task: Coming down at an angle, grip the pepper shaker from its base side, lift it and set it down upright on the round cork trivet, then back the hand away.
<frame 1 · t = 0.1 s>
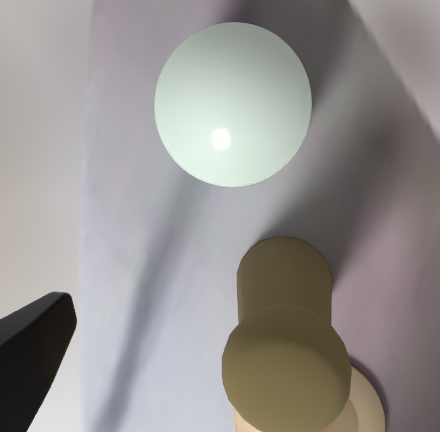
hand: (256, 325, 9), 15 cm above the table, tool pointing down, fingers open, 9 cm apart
pale mint rounded cylinder: (243, 113, 23), on the table
pepper shaker: (283, 280, 25), on the table
trivet: (306, 416, 27), on the table
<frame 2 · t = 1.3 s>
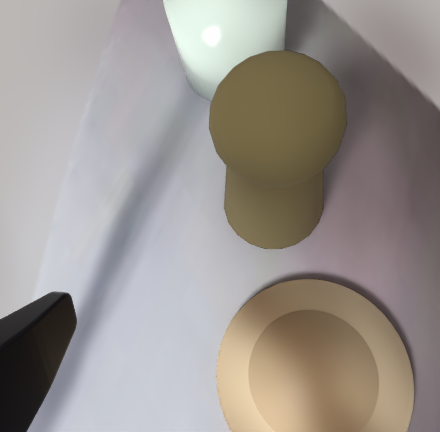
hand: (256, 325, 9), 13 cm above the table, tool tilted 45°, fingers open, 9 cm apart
pale mint rounded cylinder: (233, 61, 27), on the table
pepper shaker: (272, 202, 24), on the table
trivet: (311, 374, 20), on the table
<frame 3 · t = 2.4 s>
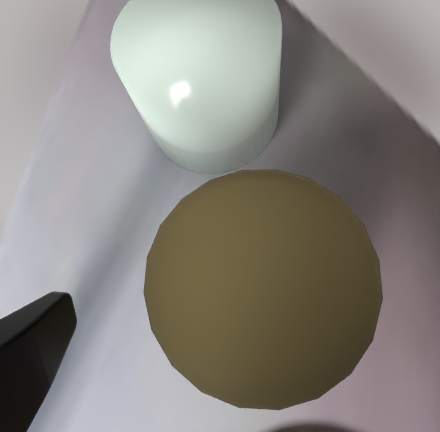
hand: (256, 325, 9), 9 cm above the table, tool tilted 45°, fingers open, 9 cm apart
pale mint rounded cylinder: (213, 115, 21), on the table
pepper shaker: (263, 313, 18), on the table
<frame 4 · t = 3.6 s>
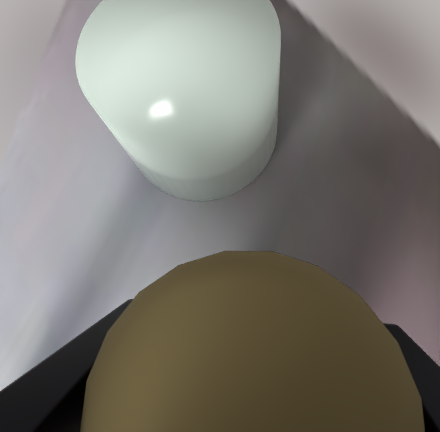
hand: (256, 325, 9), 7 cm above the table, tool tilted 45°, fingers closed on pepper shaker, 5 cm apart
pale mint rounded cylinder: (203, 133, 19), on the table
pepper shaker: (259, 368, 15), on the table, touching gripper
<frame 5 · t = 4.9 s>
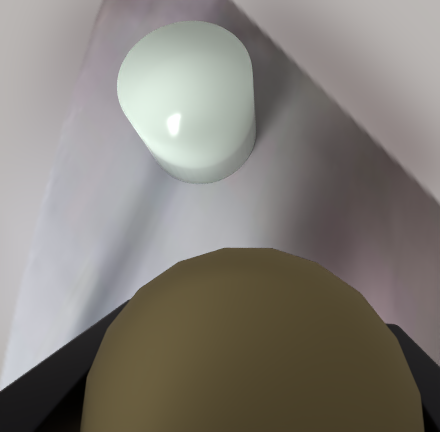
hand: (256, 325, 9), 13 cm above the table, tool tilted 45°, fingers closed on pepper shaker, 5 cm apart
pale mint rounded cylinder: (202, 134, 25), on the table
pepper shaker: (258, 365, 15), point 6 cm above the table, touching gripper
when the fingers open (8 cm above the table, at t = 6.6 s): pepper shaker stays where it is, resting on trivet.
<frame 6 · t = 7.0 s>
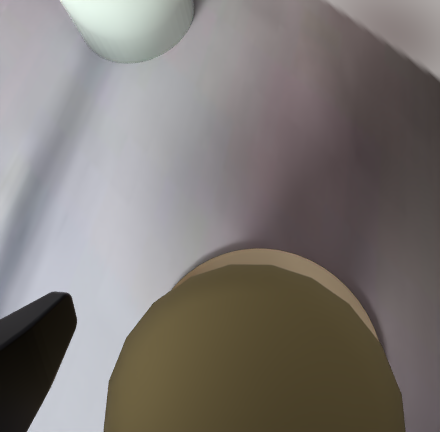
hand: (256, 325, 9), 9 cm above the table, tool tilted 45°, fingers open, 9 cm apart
pale mint rounded cylinder: (137, 15, 23), on the table
pepper shaker: (258, 368, 16), resting on trivet
trivet: (259, 365, 16), on the table
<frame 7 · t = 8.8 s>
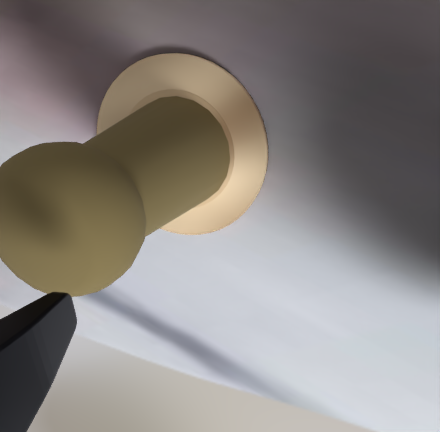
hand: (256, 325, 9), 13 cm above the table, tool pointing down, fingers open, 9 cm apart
pepper shaker: (178, 152, 21), resting on trivet
trivet: (179, 150, 22), on the table
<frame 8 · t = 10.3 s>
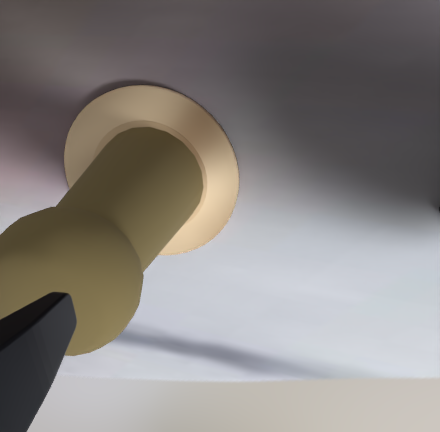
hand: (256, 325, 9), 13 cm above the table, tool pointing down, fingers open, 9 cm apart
pepper shaker: (151, 179, 22), resting on trivet
trivet: (151, 176, 22), on the table
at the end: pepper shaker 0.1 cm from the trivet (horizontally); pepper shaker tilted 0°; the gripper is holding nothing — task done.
